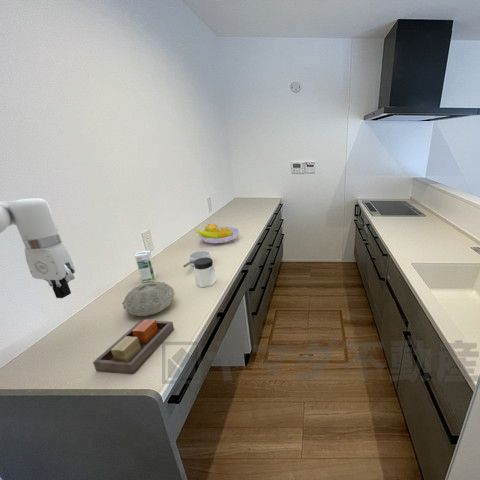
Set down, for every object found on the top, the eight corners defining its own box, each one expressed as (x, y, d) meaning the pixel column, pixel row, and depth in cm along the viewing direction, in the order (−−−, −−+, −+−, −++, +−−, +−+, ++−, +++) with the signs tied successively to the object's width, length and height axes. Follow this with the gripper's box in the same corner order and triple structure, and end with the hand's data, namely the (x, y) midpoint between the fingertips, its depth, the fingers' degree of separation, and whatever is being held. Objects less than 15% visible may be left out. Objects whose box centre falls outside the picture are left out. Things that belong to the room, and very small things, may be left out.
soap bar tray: (96, 371, 79) (90, 355, 77) (143, 327, 97) (139, 313, 95) (133, 374, 78) (128, 358, 76) (174, 329, 97) (171, 315, 94)
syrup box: (141, 283, 127) (134, 256, 122) (143, 277, 132) (136, 251, 127) (155, 281, 130) (148, 254, 124) (156, 275, 135) (150, 249, 130)
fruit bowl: (236, 232, 200) (235, 217, 196) (242, 244, 177) (240, 228, 173) (196, 236, 190) (194, 221, 186) (196, 250, 166) (194, 233, 162)
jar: (219, 282, 129) (216, 260, 125) (204, 289, 123) (200, 266, 119) (208, 277, 134) (205, 255, 130) (193, 283, 128) (189, 261, 123)
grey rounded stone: (115, 316, 103) (108, 294, 100) (153, 293, 119) (149, 273, 116) (150, 325, 98) (144, 302, 95) (185, 299, 114) (181, 279, 111)
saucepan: (175, 274, 136) (173, 265, 134) (197, 258, 154) (195, 250, 152) (196, 276, 135) (194, 266, 133) (215, 260, 153) (214, 251, 151)
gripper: (4, 245, 73) (29, 301, 80) (52, 247, 72) (74, 304, 78) (34, 236, 80) (55, 288, 87) (79, 238, 79) (96, 291, 85)
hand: (64, 295), depth 82 cm, fingers closed
